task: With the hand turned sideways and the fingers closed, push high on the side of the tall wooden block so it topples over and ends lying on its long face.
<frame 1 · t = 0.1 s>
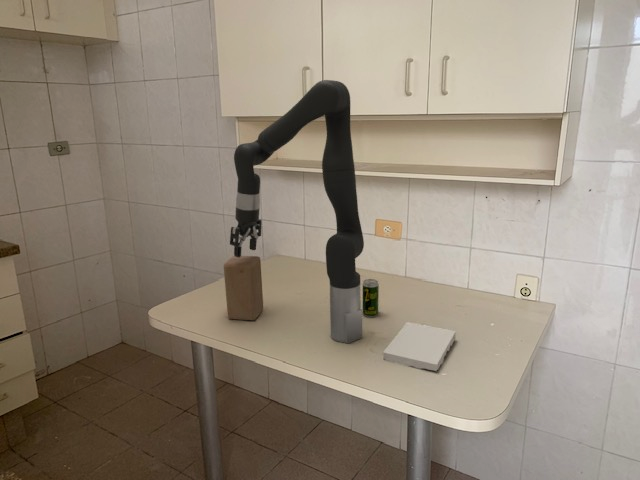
hand: (245, 253, 153), 22 cm above the table, tool pointing down, fingers open, 8 cm apart
beer can: (370, 315, 158), on the table
plastic bottle: (339, 302, 169), on the table
wooden block: (246, 315, 160), on the table
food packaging: (420, 352, 134), on the table
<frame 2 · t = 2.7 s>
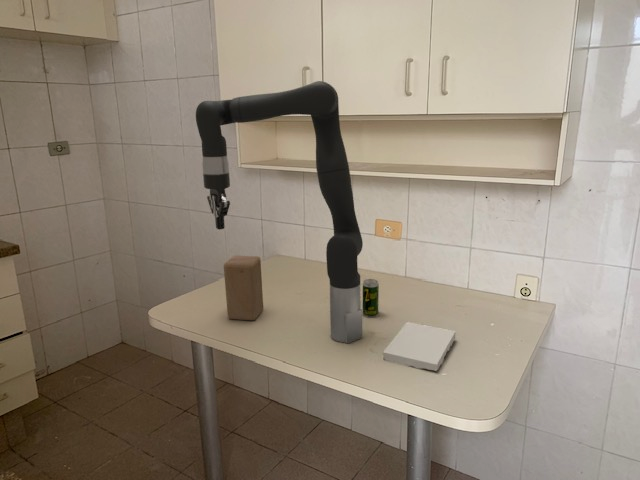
hand: (220, 228, 141), 33 cm above the table, tool pointing down, fingers closed
nothing on the table moved.
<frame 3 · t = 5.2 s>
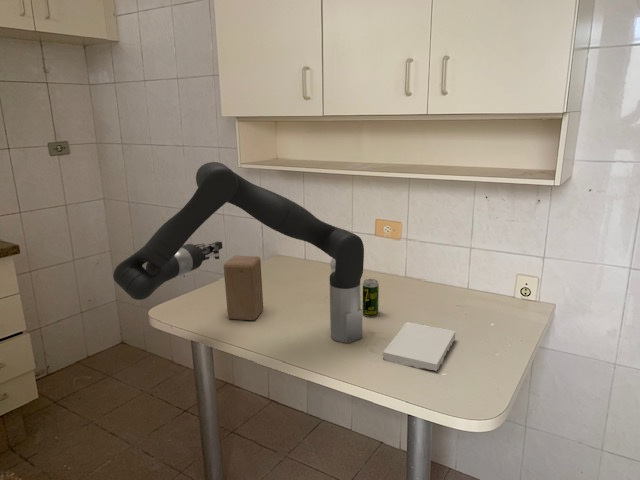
hand: (220, 244, 144), 28 cm above the table, tool horizontal, fingers closed
nothing on the table moved.
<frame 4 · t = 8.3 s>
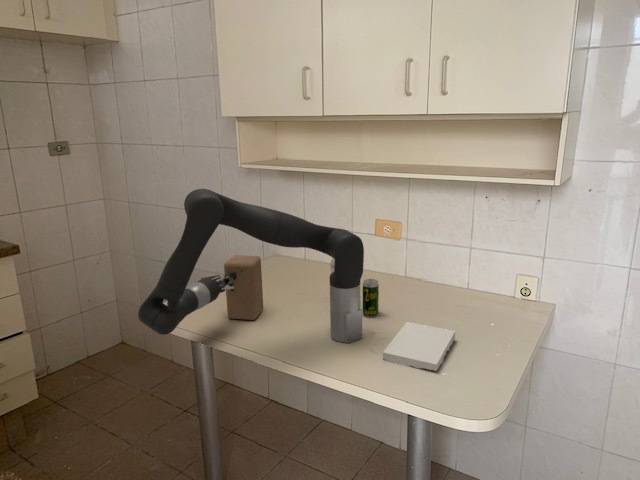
hand: (234, 275, 152), 16 cm above the table, tool horizontal, fingers closed
wooden block: (246, 314, 160), on the table, touching gripper
everything else where it was.
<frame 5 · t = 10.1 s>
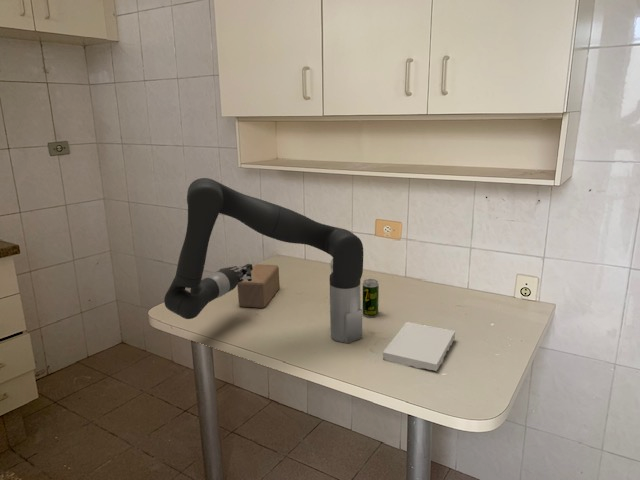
hand: (250, 266, 160), 16 cm above the table, tool horizontal, fingers closed
wooden block: (250, 295, 164), point 5 cm above the table
everything else where it was.
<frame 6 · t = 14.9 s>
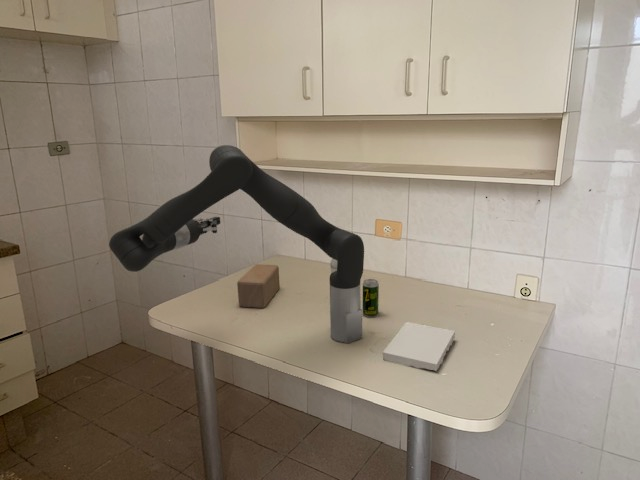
hand: (218, 220, 141), 36 cm above the table, tool horizontal, fingers closed
nothing on the table moved.
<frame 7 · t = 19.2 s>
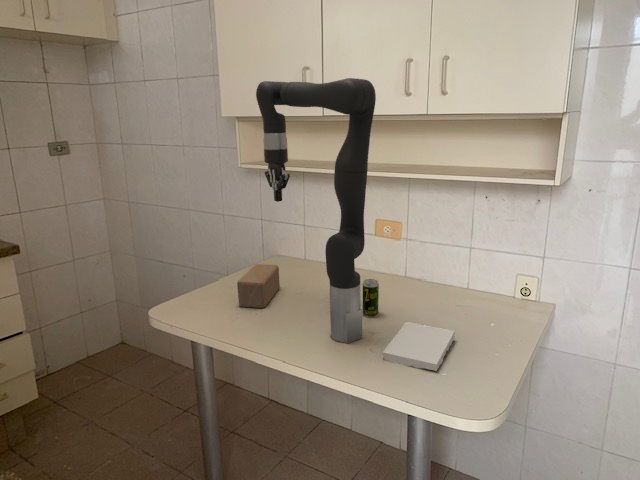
hand: (278, 201, 152), 39 cm above the table, tool pointing down, fingers closed
nothing on the table moved.
at the end: wooden block tilted 90°; wooden block inside the target area (6.1 cm from its centre), point 5.0 cm above the table; the gripper is holding nothing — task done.
